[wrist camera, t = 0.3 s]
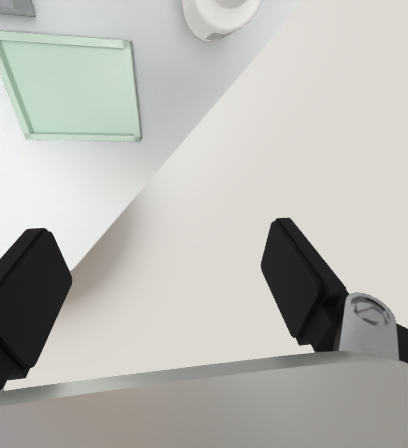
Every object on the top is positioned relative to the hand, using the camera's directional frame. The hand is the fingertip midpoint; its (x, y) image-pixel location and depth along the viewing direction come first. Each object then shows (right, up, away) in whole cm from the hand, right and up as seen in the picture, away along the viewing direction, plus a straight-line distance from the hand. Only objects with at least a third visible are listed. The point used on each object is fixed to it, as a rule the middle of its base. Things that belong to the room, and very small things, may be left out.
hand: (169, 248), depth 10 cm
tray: (-16, +19, +21) cm, 33 cm away
